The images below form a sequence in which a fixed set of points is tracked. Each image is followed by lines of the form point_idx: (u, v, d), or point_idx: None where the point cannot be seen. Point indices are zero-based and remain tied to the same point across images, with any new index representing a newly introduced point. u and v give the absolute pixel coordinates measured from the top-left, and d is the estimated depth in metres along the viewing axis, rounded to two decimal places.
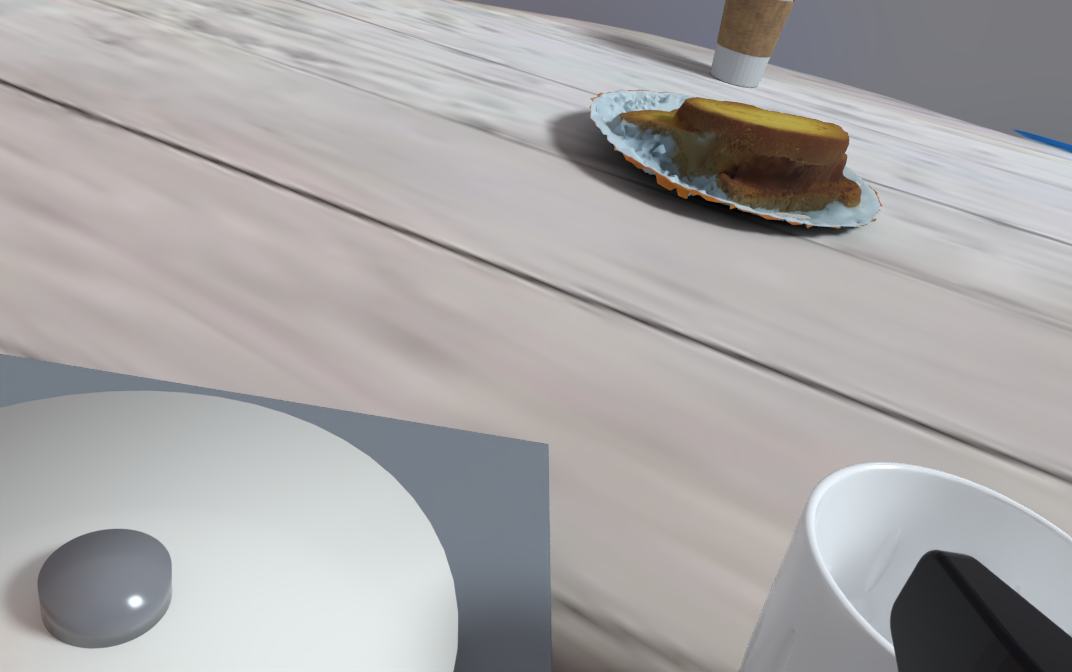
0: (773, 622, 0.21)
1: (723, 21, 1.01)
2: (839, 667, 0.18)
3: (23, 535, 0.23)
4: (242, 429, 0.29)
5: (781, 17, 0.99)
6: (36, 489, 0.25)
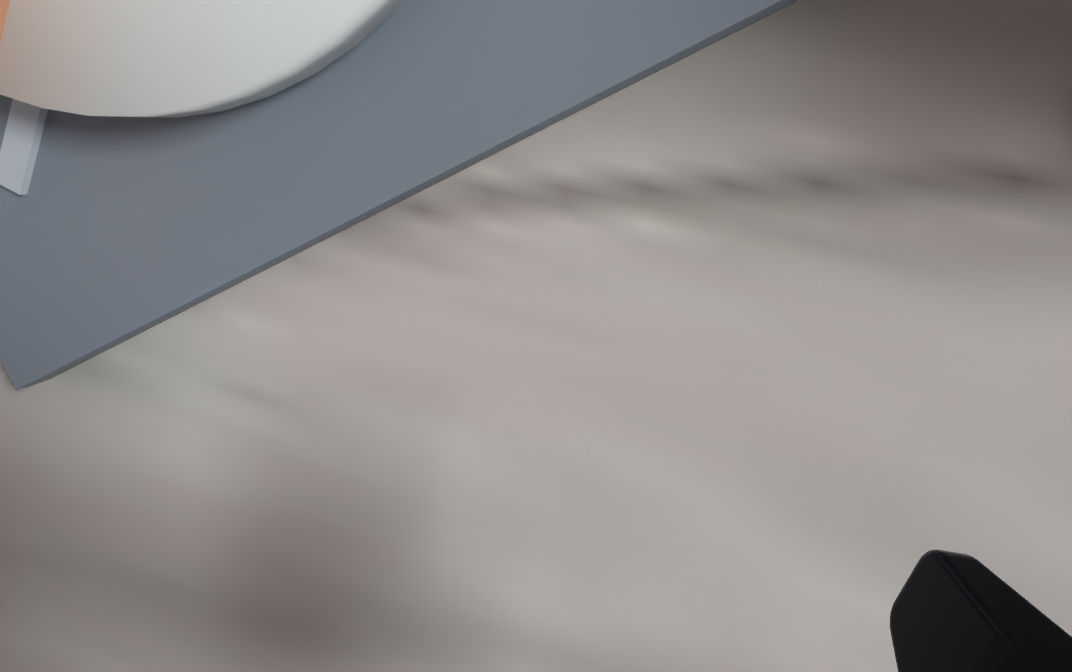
0: None
1: None
2: None
3: None
4: None
5: None
6: None
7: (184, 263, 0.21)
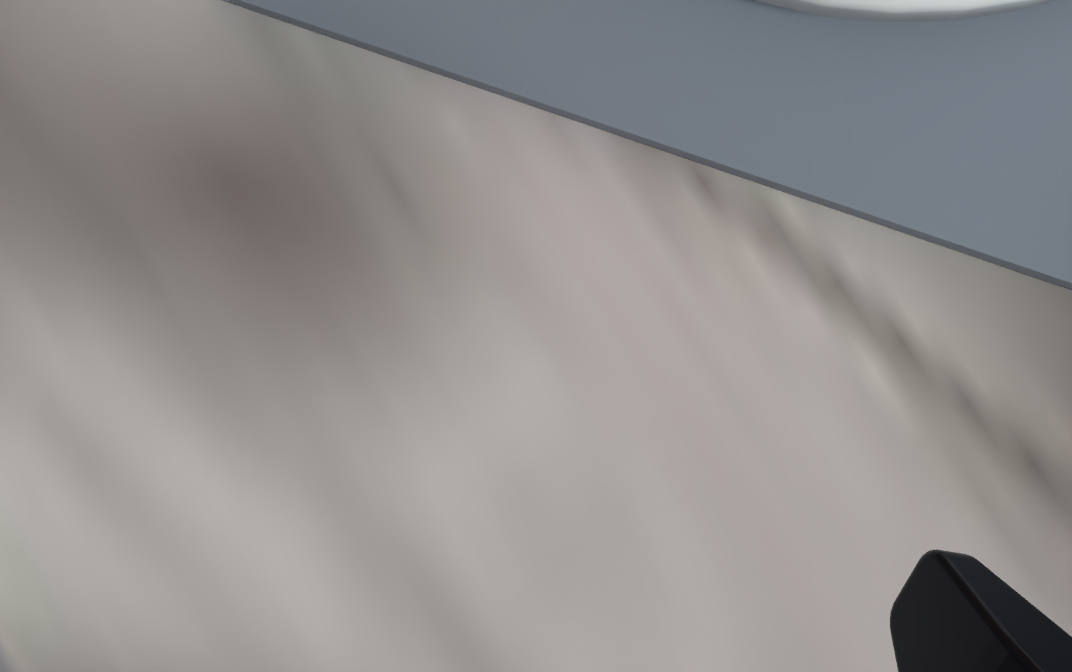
0: None
1: None
2: None
3: None
4: None
5: None
6: None
7: (466, 32, 0.18)
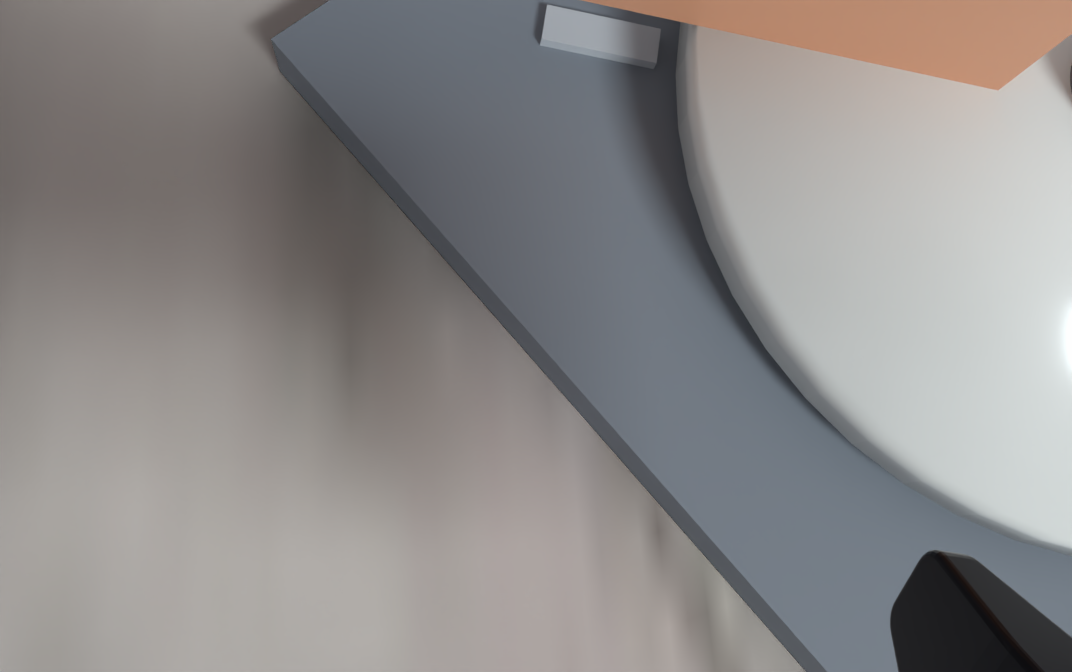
0: None
1: None
2: None
3: None
4: None
5: None
6: None
7: (523, 260, 0.17)
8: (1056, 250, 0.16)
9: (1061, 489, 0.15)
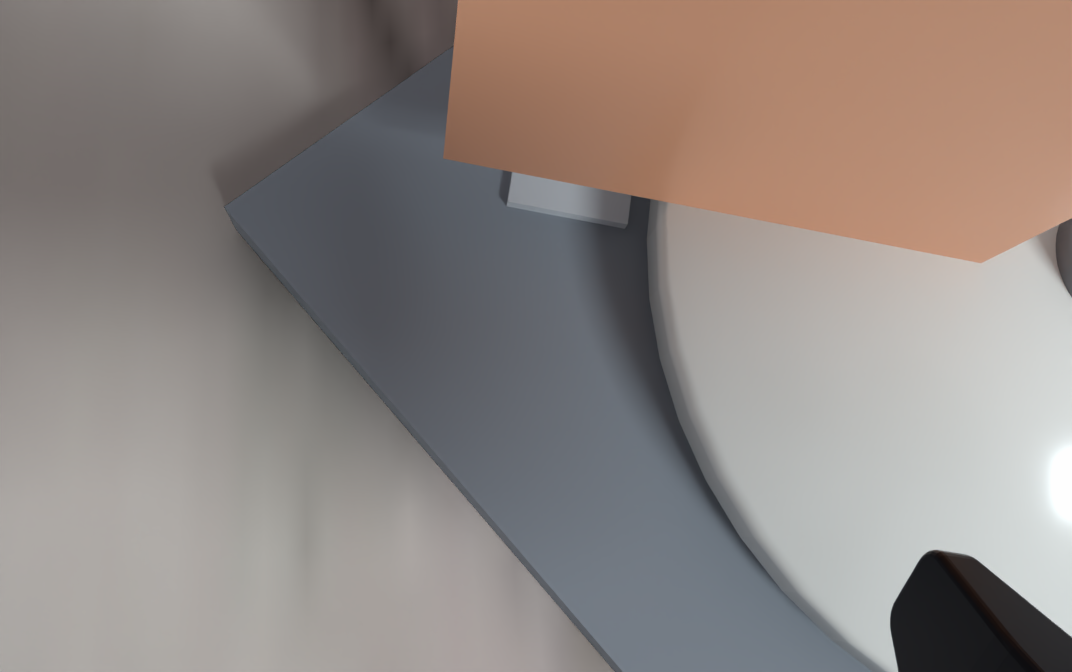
0: None
1: None
2: None
3: None
4: None
5: None
6: None
7: (487, 440, 0.16)
8: (1042, 436, 0.15)
9: None
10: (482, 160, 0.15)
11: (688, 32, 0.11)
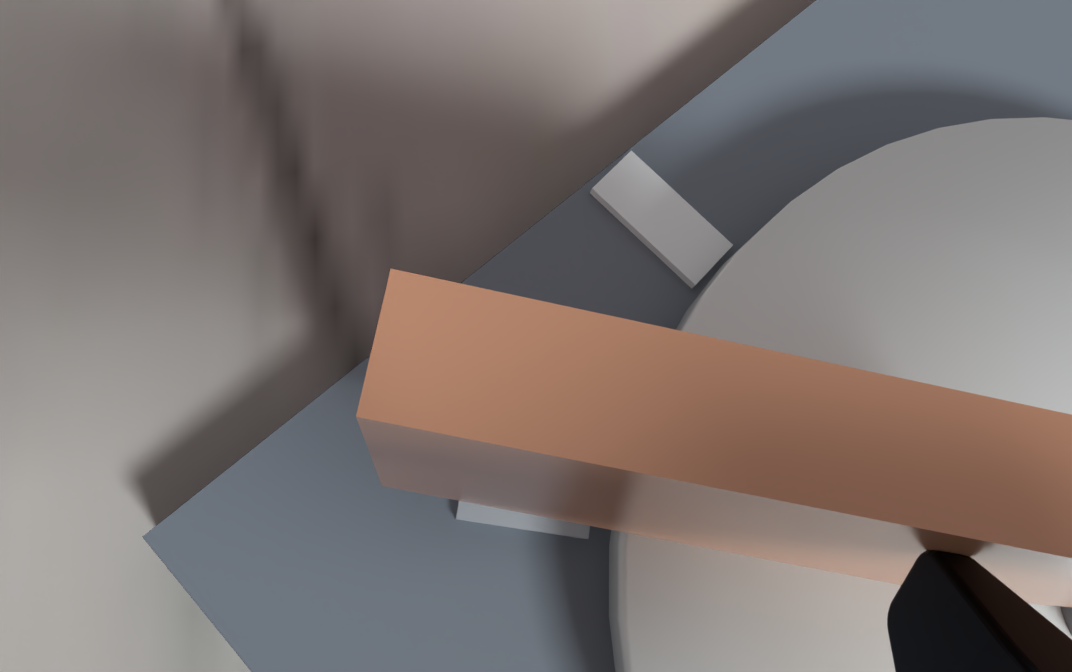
0: None
1: None
2: None
3: None
4: None
5: None
6: None
7: None
8: None
9: None
10: (424, 492, 0.14)
11: (633, 504, 0.09)
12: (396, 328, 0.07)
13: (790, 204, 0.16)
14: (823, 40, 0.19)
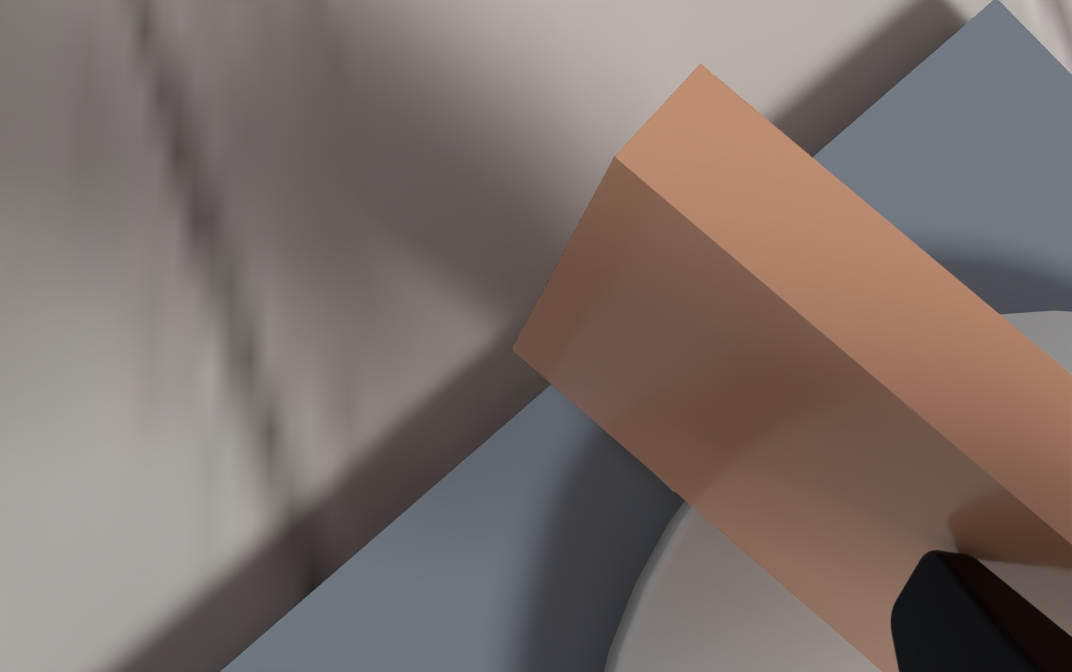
0: None
1: None
2: None
3: None
4: None
5: None
6: None
7: None
8: None
9: None
10: (544, 373, 0.14)
11: (758, 423, 0.10)
12: (681, 109, 0.07)
13: None
14: None
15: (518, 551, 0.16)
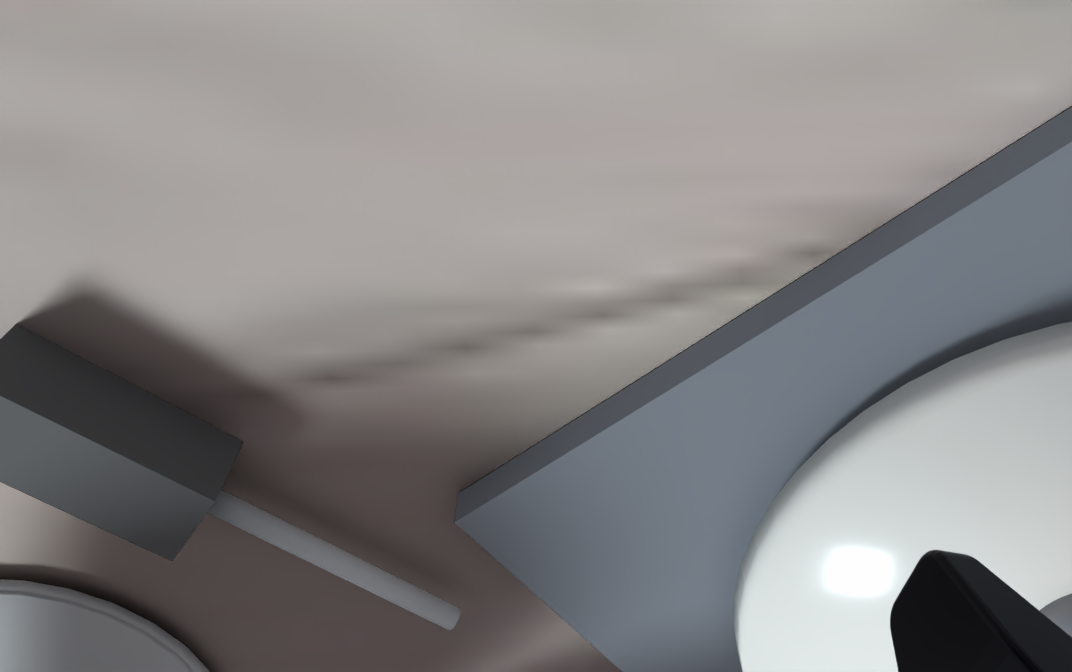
0: None
1: None
2: None
3: None
4: None
5: None
6: None
7: None
8: None
9: (1002, 412, 0.20)
10: None
11: None
12: None
13: None
14: None
15: None
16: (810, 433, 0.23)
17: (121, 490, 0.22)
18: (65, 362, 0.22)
